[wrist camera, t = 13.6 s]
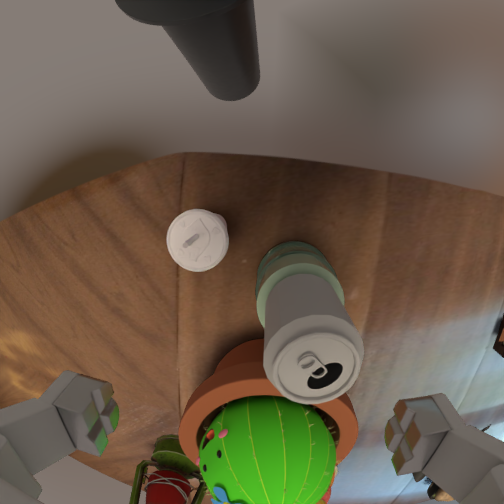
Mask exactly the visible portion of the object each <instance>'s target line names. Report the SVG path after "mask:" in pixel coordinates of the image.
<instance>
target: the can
mask: <svg viewBox="0 0 504 504" xmlns="http://www.w3.org/2000/svg"><path fill="white" fill-rule="evenodd" d="M363 356H364V347H363V340H362V338H361V336H360V335H359V333H358V331H357V329H356V327H355V326H354V324H353V322H352V320H351V318H350V317H349V315H348V313H347V311H346V310H345V308H344V306H343V304H342V303H341V301H340V299H339V297H338V296H337V294H336V292H335V291H334V289H333V287H332V286H331V285H330V284H329V283H328V282H327V281H325V280H324V279H323V278H321V277H318V276H315V275H313V274H296V275H293V276H289V277H287V278H285V279H283V280H282V281H280V282H279V283H277V284H276V286H275V287H274V288H273V289H272V290H271V291H270V293H269V296H268V298H267V300H266V305H265V331H264V359H263V367H264V370H265V373H266V375H267V378H268V379H269V381H270V382H271V383H272V384H273V385H274V386H275V388H277V389H278V391H279V392H280V393H281V394H282V395H283V396H285V397H286V398H288V399H290V400H291V401H294V402H298V403H302V404H320V403H324V402H328V401H331V400H333V399H335V398H337V397H339V396H341V395H343V394H344V393H345V392H346V391H347V390H348V389H349V388H350V387H352V385H353V384H354V382H355V381H356V379H357V377H358V376H359V372H360V368H361V365H362V361H363Z"/></svg>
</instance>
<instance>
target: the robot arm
mask: <svg viewBox="0 0 504 504" xmlns="http://www.w3.org/2000/svg"><path fill="white" fill-rule="evenodd" d="M113 393H114V391H113V388H112V384H111V383H109V382H107V381H104V380H100V379H97V378H93V377H90V376H86V375H83V374H79V373H75V372H72V371H69V370H66V371H63V373H62V374H61V375H60V376H59V377H58V378H57V379H56V380H55V381H54V382H53V383H52V384H51V386H50V387H49V388H48V389H47V390H46V391H45V392H44V393H43V394H42V396H41V397H40V398H39V399H36V398H33V399H30V400H27V401H24V402H21V403H18V404H15V405H12V406H9V407H6V408H3V409H0V504H44V503H42V502H40V501H39V500H37V498H38V497H39V495H40V493H41V492H42V488H41V486H40V484H39V483H38V482H37V481H36V479H35V478H34V477H33V475H35V474H36V473H38V472H40V471H42V470H43V469H45V468H47V467H49V466H50V465H52V464H54V463H55V462H57V461H59V460H60V459H62V458H64V457H65V456H67V455H69V454H71V453H72V452H74V451H75V450H76V449H78V450H81V451H84V452H87V453H90V454H93V455H96V456H99V457H100V456H101V454H102V453H103V451H104V449H105V447H106V445H107V443H108V438H107V435H108V434H110V433H112V432H114V430H115V428H116V426H117V424H118V419H119V409H118V405H117V403H116V402H115V401H114V400H113V398H112V397H111V396H112V395H113ZM393 410H394V413H395V415H394V416H393V417H392V418H391V419H390V420H388V423H387V425H386V428H385V443H386V446H387V449H388V450H390V451H391V452H393V453H394V455H393V457H392V459H391V460H392V463H393V466H394V468H395V471H396V474H397V476H398V475H404V474H409V473H414V472H419V471H422V473H423V474H425V475H426V476H427V477H428V478H429V479H430V480H432V481H433V482H434V483H435V484H437V485H438V486H439V487H440V488H441V489H443V490H444V491H445V492H446V493H447V494H449V495H450V496H451V497H452V498H454V499H455V500H456V501H457V502H459V504H504V442H502V441H500V440H498V439H496V438H494V437H492V436H490V435H488V434H486V433H484V432H482V431H481V430H479V429H477V428H475V427H473V426H471V425H468V426H466V425H465V423H464V422H463V420H462V419H461V417H460V416H459V414H458V413H457V411H456V410H455V408H454V407H453V405H452V404H451V402H450V401H449V399H448V398H447V396H446V395H445V394H443V393H439V394H434V395H428V396H423V397H416V398H409V399H402V400H399V401H398V402H397V403H396V405H395V407H394V409H393Z"/></svg>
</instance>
